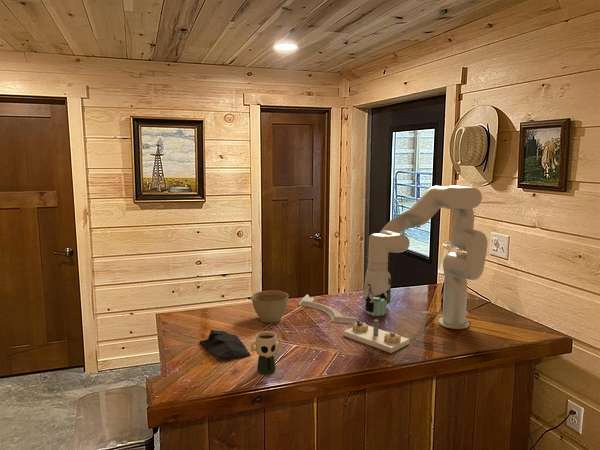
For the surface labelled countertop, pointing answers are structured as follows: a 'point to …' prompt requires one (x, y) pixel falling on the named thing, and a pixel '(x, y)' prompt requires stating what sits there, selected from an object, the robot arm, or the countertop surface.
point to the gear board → (376, 336)
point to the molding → (327, 311)
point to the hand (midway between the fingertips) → (376, 308)
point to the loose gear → (379, 306)
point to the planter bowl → (270, 305)
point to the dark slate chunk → (225, 345)
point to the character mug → (266, 351)
